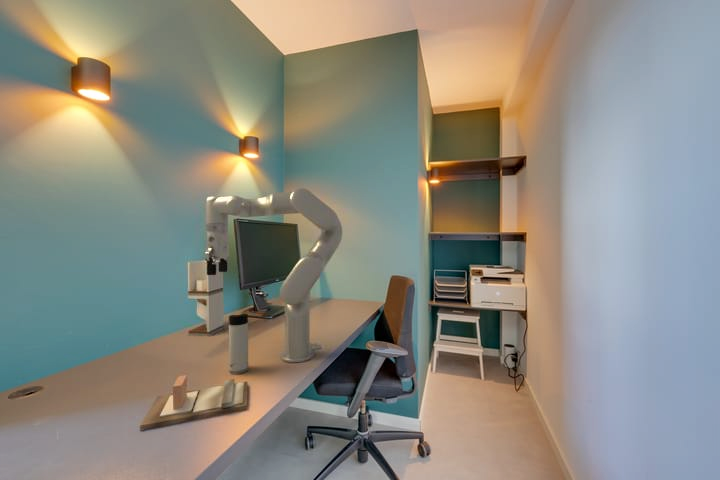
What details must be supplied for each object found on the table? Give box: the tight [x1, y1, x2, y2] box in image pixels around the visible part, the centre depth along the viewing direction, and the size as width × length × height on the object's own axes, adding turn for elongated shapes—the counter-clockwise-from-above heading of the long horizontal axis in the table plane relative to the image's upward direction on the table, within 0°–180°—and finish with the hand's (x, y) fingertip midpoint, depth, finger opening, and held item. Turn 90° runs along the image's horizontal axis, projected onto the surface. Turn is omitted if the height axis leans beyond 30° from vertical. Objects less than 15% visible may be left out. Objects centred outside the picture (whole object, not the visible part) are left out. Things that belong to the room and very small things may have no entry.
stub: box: [160, 374, 198, 417], centre depth 79 cm, size 7×10×6 cm
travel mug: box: [228, 313, 249, 375], centre depth 102 cm, size 6×7×20 cm
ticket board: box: [139, 378, 249, 431], centre depth 81 cm, size 24×14×3 cm, turn 110°
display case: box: [187, 260, 224, 337], centre depth 144 cm, size 11×11×35 cm
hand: (217, 273), depth 112 cm, fingers open, 9 cm apart
